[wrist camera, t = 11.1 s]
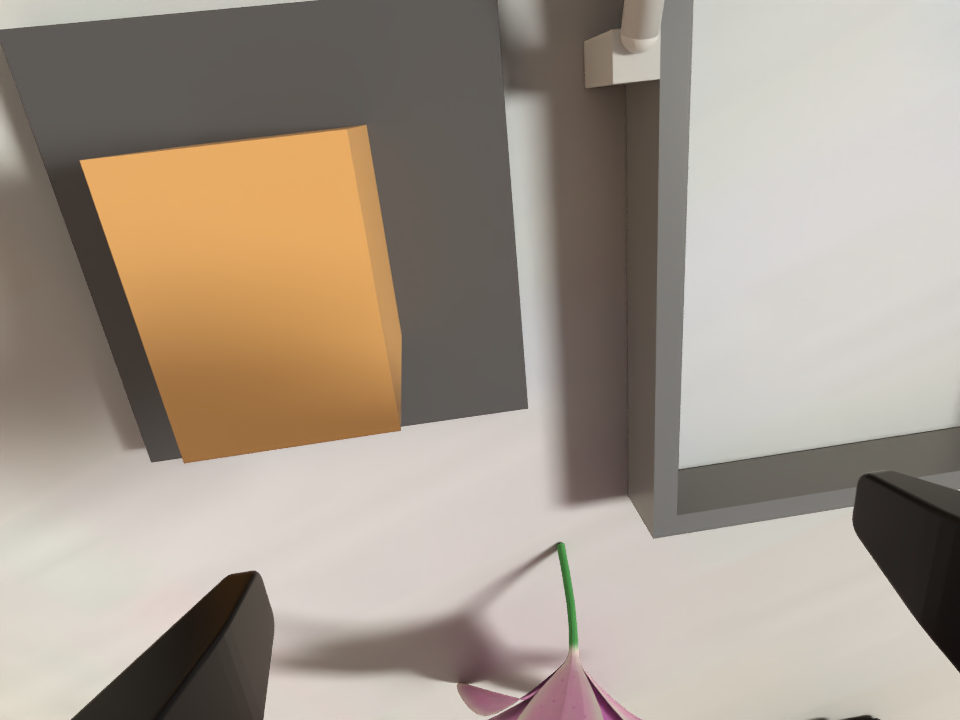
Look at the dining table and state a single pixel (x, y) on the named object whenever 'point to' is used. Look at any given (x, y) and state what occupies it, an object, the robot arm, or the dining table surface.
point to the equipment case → (659, 314)
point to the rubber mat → (302, 108)
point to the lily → (553, 685)
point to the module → (258, 287)
